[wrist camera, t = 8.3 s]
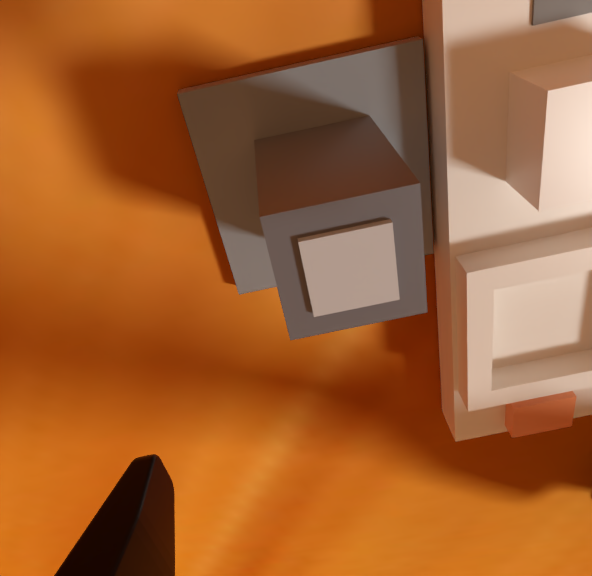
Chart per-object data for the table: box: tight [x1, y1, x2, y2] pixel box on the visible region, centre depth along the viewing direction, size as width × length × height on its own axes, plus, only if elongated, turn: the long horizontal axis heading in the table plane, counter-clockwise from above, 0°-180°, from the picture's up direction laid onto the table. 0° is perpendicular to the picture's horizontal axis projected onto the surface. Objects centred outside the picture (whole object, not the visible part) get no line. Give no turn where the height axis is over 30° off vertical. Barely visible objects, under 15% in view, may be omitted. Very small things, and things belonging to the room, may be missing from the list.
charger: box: [254, 115, 428, 340], centre depth 16 cm, size 4×4×6 cm
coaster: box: [177, 36, 434, 294], centre depth 19 cm, size 8×8×1 cm
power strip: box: [422, 0, 592, 442], centre depth 17 cm, size 30×8×4 cm, turn 11°
